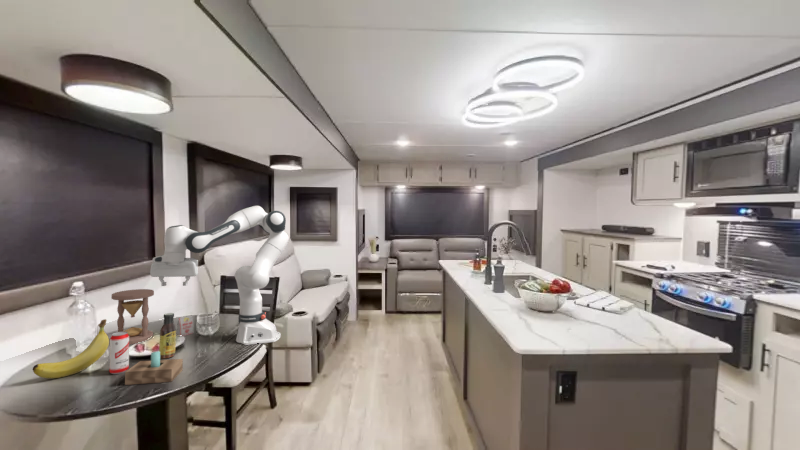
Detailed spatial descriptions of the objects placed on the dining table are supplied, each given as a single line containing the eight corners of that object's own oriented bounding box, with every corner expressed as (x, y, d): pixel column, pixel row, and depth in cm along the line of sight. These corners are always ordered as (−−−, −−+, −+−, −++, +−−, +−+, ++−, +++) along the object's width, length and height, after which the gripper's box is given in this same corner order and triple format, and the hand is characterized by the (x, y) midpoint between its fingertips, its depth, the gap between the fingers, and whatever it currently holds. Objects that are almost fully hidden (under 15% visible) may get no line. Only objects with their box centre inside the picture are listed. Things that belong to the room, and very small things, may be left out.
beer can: (132, 369, 141) (133, 332, 141) (115, 376, 135) (116, 336, 135) (122, 367, 143) (123, 330, 143) (105, 373, 137) (106, 334, 137)
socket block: (182, 370, 141) (182, 358, 141) (171, 381, 131) (171, 369, 131) (139, 373, 138) (139, 361, 138) (124, 384, 128) (125, 371, 128)
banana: (34, 386, 125) (34, 333, 125) (30, 382, 128) (31, 330, 128) (110, 365, 144) (111, 319, 144) (105, 362, 147) (106, 317, 147)
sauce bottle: (166, 360, 151) (167, 316, 151) (155, 358, 152) (156, 315, 152) (179, 354, 158) (179, 312, 157) (168, 353, 159) (168, 311, 159)
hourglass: (101, 343, 169) (102, 294, 169) (136, 332, 186) (136, 288, 186) (128, 347, 165) (129, 297, 165) (161, 335, 182) (162, 290, 182)
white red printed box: (176, 335, 183) (177, 317, 183) (189, 332, 189) (190, 314, 189) (180, 336, 181) (180, 318, 181) (193, 333, 187) (193, 315, 187)
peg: (161, 375, 136) (161, 351, 136) (157, 378, 133) (157, 354, 133) (153, 376, 136) (153, 351, 136) (149, 379, 133) (149, 354, 133)
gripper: (200, 257, 170) (200, 284, 170) (155, 257, 166) (155, 284, 166) (195, 258, 164) (195, 286, 164) (148, 258, 160) (148, 287, 160)
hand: (174, 285), depth 165 cm, fingers open, 8 cm apart
